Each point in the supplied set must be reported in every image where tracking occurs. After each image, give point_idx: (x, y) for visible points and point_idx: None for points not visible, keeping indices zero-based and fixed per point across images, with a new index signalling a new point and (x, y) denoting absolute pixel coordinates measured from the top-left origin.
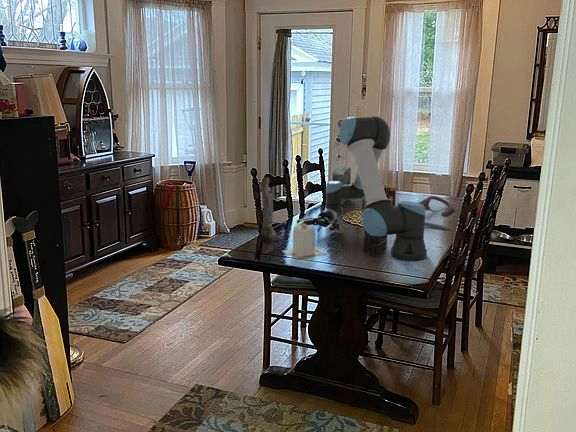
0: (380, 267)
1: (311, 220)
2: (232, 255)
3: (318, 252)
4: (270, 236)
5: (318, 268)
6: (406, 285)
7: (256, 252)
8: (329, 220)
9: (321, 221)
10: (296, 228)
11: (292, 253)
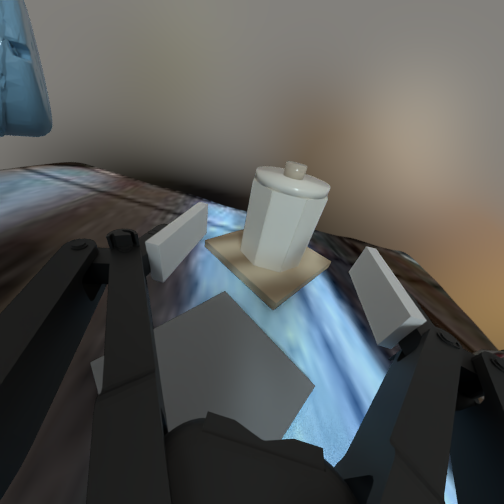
0: (85, 199)
1: (394, 412)
2: (408, 260)
3: (229, 250)
4: (474, 353)
5: (225, 210)
6: (95, 167)
7: None
8: (105, 389)
9: (248, 434)
10: (313, 178)
11: None
